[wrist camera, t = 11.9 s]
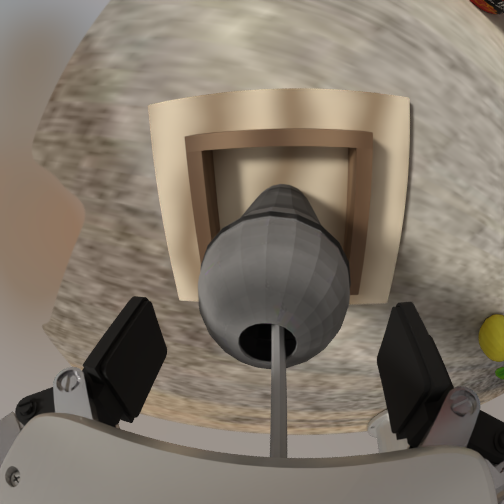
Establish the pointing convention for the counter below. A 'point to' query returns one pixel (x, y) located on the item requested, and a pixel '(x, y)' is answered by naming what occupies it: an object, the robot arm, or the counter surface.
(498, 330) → the lemon
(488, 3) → the canned food
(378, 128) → the cup holder
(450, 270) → the counter surface
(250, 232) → the beverage cup
